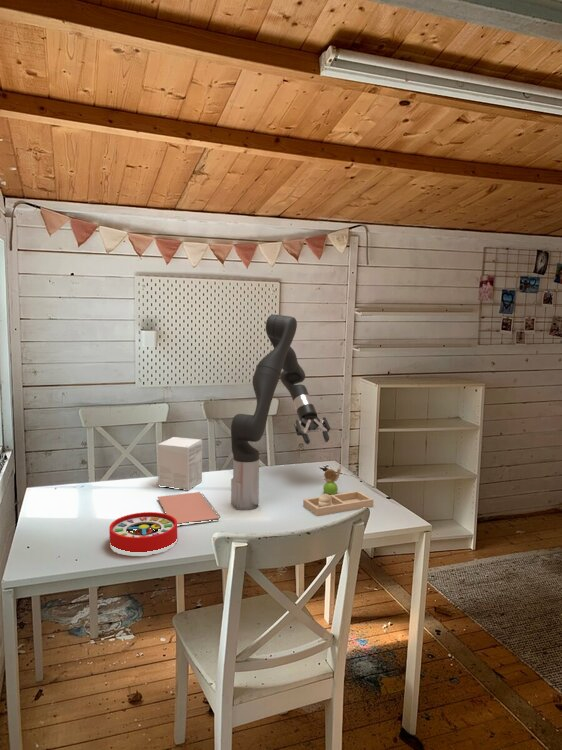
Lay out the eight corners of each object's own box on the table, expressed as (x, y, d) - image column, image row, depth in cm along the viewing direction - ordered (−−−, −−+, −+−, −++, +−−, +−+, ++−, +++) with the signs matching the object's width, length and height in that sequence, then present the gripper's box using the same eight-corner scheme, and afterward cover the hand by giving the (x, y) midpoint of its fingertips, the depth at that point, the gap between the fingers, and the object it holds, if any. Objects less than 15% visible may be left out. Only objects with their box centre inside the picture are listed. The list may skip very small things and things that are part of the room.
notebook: (222, 522, 190) (222, 516, 190) (171, 529, 184) (171, 523, 184) (202, 496, 215) (202, 490, 215) (157, 501, 209) (157, 496, 209)
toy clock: (174, 509, 184) (180, 534, 165) (174, 527, 185) (180, 553, 166) (110, 514, 179) (108, 541, 160) (110, 532, 180) (108, 560, 161)
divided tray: (316, 518, 193) (317, 508, 193) (303, 508, 202) (303, 499, 202) (373, 509, 203) (373, 499, 203) (357, 499, 212) (358, 490, 212)
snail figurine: (340, 498, 214) (341, 467, 212) (323, 497, 214) (324, 466, 212) (339, 493, 219) (340, 463, 218) (322, 492, 219) (323, 462, 218)
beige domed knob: (322, 511, 197) (322, 496, 197) (316, 507, 201) (316, 492, 201) (333, 509, 199) (334, 495, 198) (327, 505, 203) (327, 491, 203)
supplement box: (203, 481, 231) (203, 439, 229) (188, 491, 218) (188, 447, 216) (173, 477, 235) (173, 436, 233) (157, 487, 222) (157, 443, 220)
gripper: (292, 404, 227) (305, 438, 219) (323, 401, 233) (337, 435, 225) (286, 414, 233) (298, 448, 224) (316, 412, 239) (330, 445, 230)
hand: (318, 442), depth 225 cm, fingers open, 8 cm apart
